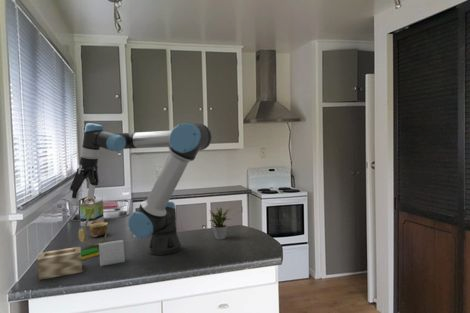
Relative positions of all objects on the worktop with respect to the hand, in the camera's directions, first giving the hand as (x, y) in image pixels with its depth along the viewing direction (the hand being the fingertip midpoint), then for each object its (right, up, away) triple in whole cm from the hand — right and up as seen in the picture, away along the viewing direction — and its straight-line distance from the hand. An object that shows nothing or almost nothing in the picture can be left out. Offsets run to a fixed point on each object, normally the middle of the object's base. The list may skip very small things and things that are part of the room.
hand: (82, 201), depth 170 cm
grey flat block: (+18, -25, -12) cm, 33 cm away
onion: (-6, -25, +38) cm, 46 cm away
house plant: (+65, -21, +17) cm, 70 cm away
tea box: (-24, -24, +73) cm, 81 cm away
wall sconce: (0, -25, +17) cm, 31 cm away
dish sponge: (+1, -26, 0) cm, 26 cm away
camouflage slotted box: (0, -27, -20) cm, 33 cm away
